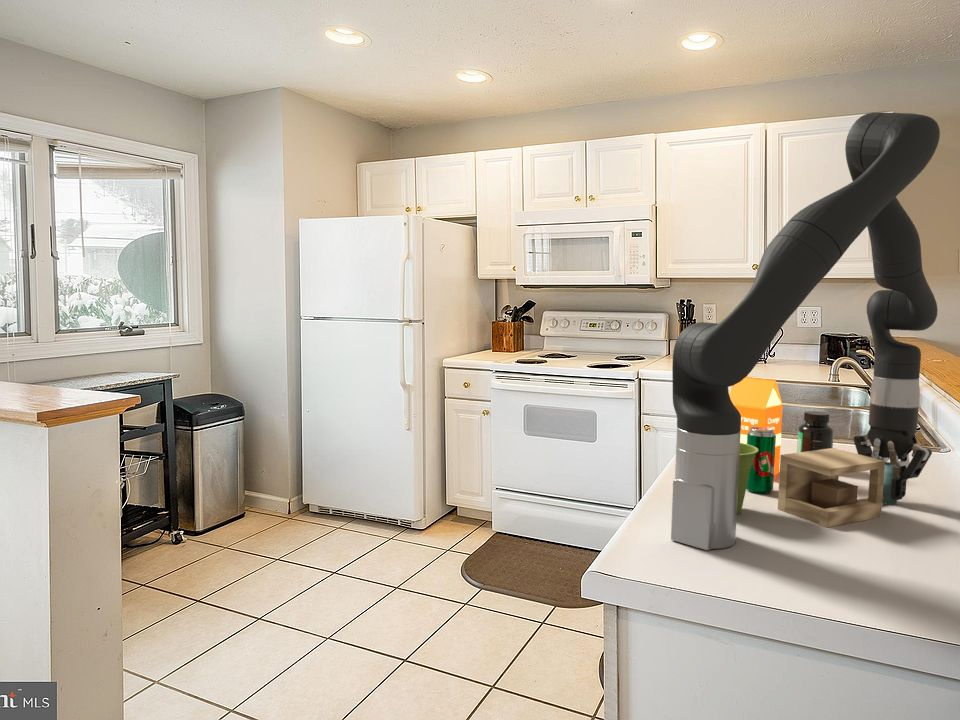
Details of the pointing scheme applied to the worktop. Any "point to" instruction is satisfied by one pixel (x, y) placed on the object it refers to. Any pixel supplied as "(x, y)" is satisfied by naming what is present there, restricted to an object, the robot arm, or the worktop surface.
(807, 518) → the box
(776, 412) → the orange juice
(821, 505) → the tethered block
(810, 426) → the supplement bottle
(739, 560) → the worktop surface
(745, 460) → the plant pot
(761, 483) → the soda can
